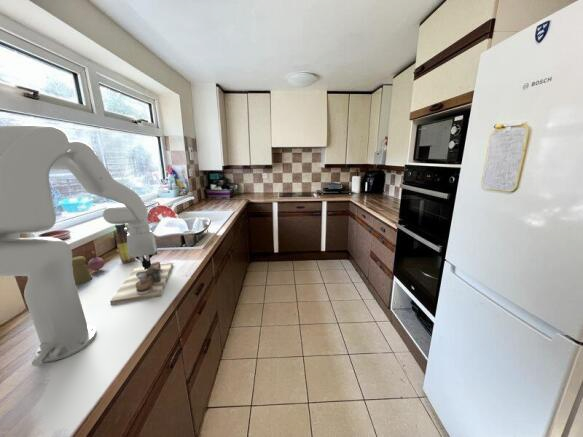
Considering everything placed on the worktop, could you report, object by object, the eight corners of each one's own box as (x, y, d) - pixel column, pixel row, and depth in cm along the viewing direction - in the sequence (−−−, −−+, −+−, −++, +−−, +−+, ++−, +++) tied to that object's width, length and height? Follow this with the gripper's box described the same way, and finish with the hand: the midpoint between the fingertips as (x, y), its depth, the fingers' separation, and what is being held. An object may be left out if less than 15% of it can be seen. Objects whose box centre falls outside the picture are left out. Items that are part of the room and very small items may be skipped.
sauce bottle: (138, 260, 122) (130, 223, 117) (124, 264, 117) (116, 226, 112) (131, 257, 125) (124, 221, 120) (118, 261, 120) (110, 224, 115)
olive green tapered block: (81, 284, 98) (74, 260, 96) (70, 283, 100) (63, 259, 97) (95, 277, 104) (89, 254, 101) (84, 276, 105) (78, 254, 102)
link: (149, 290, 88) (147, 277, 87) (134, 292, 87) (131, 279, 86) (163, 266, 109) (161, 255, 107) (151, 267, 107) (149, 256, 106)
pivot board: (160, 296, 89) (157, 281, 87) (110, 304, 84) (107, 289, 83) (172, 265, 115) (170, 253, 113) (135, 270, 110) (132, 258, 108)
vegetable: (105, 266, 115) (100, 247, 112) (107, 270, 111) (102, 251, 108) (89, 271, 111) (84, 251, 108) (90, 275, 106) (85, 255, 104)
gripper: (115, 234, 94) (125, 275, 99) (156, 229, 99) (164, 269, 104) (121, 228, 101) (130, 267, 106) (160, 224, 106) (167, 261, 111)
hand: (147, 268), depth 105 cm, fingers closed
